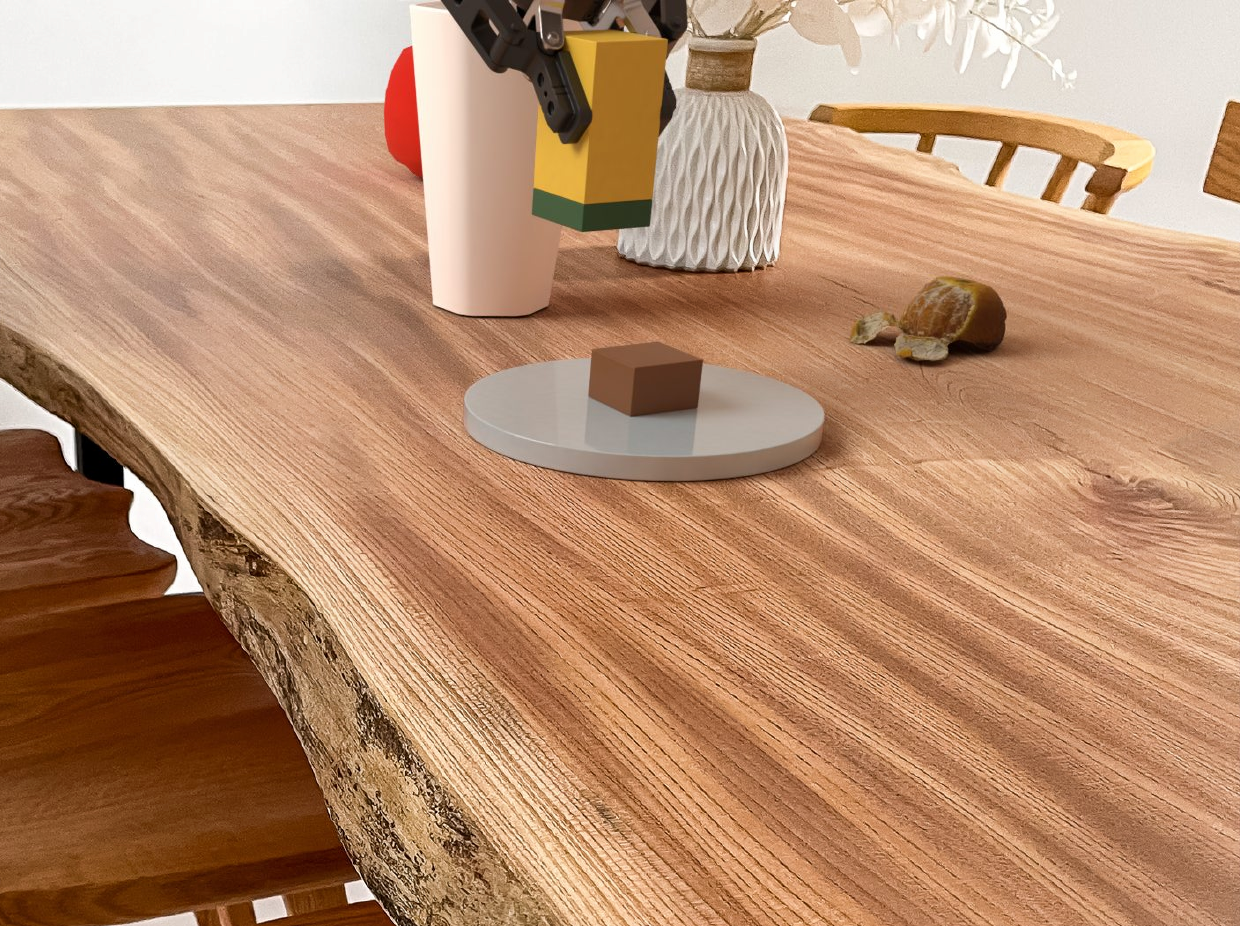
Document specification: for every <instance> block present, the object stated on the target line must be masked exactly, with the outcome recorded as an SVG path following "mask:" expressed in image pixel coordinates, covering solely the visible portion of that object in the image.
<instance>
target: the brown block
mask: <svg viewBox="0 0 1240 926" xmlns="http://www.w3.org/2000/svg"><path fill="white" fill-rule="evenodd" d="M590 358H591V367H590V379H589V392H588V396H589V397H590V398H593V399H595V400H597V401H599V402H601V403H603V404H605V405H607V406H609V407H611V408H614V409H616V410H618V411H620V412H622V413H624V414H626V415H628V416H630V417H632V416H639V415H647V414H654V413H662V412H670V411H677V410H685V409H693V408H698V401H699V393H700V384H701V375H702V366H703V364H704V360H703V358H700V357H697V356H695V355H692V354H690V353H687V352H685V351H683V350H680V349H678V348H675V347H673V346H670V345H668V344H665V343H663V342H661V341H649V342H641V343H633V344H624V345H616V346H605V347H597V348H592V349H591V355H590Z"/></svg>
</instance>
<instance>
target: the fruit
mask: <svg viewBox="0 0 1240 926" xmlns="http://www.w3.org/2000/svg"><path fill="white" fill-rule="evenodd" d="M1007 314H1008V313H1007V310H1006V307H1005V306H1004V302H1003V299H1001V296H1000V295H999V294H998V292H997V291H996V290H995V289H994V288H993V287H992V286H989V285H987V284H985V283H982V282H979V281H976V280H974V279H969V278H968V279H967V278H964V277H954V276H938V277H936V278H933V279H932V280H930V281H929V282H928V283H926V284H925V285H924V286H923V288H922V289H921V290H920V291H918V292H917V294H916V295H915V296H914V297H913V299H911V300H910V302H909V303H908V304H907V306H906V307H905V309H904V310H903V313H902V315H901V317H900V318H899V319H898V318H896V316H895V315H894V314H893V313H891V312H890V313H888V312H884V311H878V312H877V311H876V312H873V313H870V314H868V315H866V316H864V317H861V318H857V320H855V322H854V324H853V326H852V328H851V334H850V337H849V342H850V343H851V342H852V343H853V344H863V345H866V343H867V342H869V341H872V340H874V339H875V338H876V337H878V335H879V334H880V333H881V332H882V331H884V330H885V329H887V328H889V327H897V328H899V330H900V331H902V333H898V335H897V336H896V338H895V343H894V345H893V347H894V349H895V354H896V357H902V358H910V360H911V359H912V360H914V361H930V362H934V361H939V360H941V361H942V360H945V359H947V358H948V357H949V348H948V346H949V344H952V343H954V342H956V341H958V340H962V341H966V342H969V343H972V344H974V345H975V347H976V348H979V349H980V350H986V351H988V352H991V351H994V350H996V349H997V348H998V347H999V346H1000V345H1001V344H1002V342H1003V340H1004V338H1005V334H1006V329H1007V328H1006V321H1007V318H1008V315H1007Z"/></svg>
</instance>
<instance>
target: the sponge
mask: <svg viewBox="0 0 1240 926" xmlns="http://www.w3.org/2000/svg"><path fill="white" fill-rule="evenodd" d="M667 44H668V39H664V38H658V37H653V36H647V35H641V34H636V33H630V32H629V31H625V30H624V31H619V30H613V29H608V30H580V31H564V45H563V47H562V48H561V51H562V52H568V51H570V53H571V56H572V59H573V61H574V64H575V67H576V70H577V73H578V75H579V78H580V81H581V84H582V86H583V89H584V92H585V95H586V97H587V100H588V103H589V106H590V108H591V110H592V122H591V124H590V125H589V126H588V128H587V129H586V131H585V132H584V134H583V135H582V137H581V139H580V140H579V142H578V143H576V144H562V143H561V141H560V139H559V136H558V133H553V131H552V130H551V129H550V128H549V126H548V125H547V123H546V120H545V117H544V113H543V112H542V109H541V106H540V103H539V107H538V123H537V138H536V154H535V170H534V186H533V187H534V189H533V201H532V215H534V216H537V217H540V218H543V219H546V220H548V221H551V222H554V223H557V224H560V225H562V227H566V228H569V229H571V230H574V231H577V232H580V233H589V232H591V233H592V232H601V231H602V232H603V231H615V230H627V229H638V228H649V227H650V226H651V221H652V208H653V197H654V189H655V188H654V187H655V179H656V167H657V157H658V156H657V155H658V147H659V138H660V136H659V127H660V112H661V106H662V96H663V86H664V75H665V70H666V64H667V60H666V55H667Z"/></svg>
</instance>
